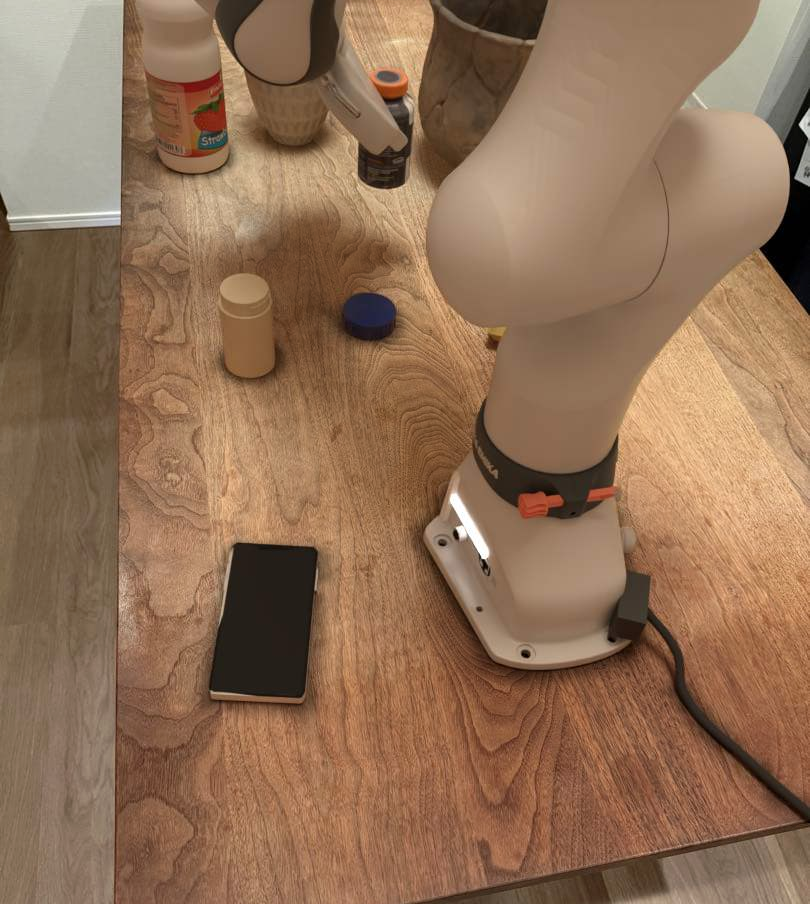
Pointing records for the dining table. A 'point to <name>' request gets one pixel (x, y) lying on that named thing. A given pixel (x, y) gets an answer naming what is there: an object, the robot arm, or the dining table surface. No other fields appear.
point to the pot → (473, 69)
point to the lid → (369, 316)
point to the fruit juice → (184, 84)
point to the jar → (247, 325)
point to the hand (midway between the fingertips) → (391, 125)
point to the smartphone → (265, 624)
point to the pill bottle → (390, 164)
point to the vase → (288, 111)
